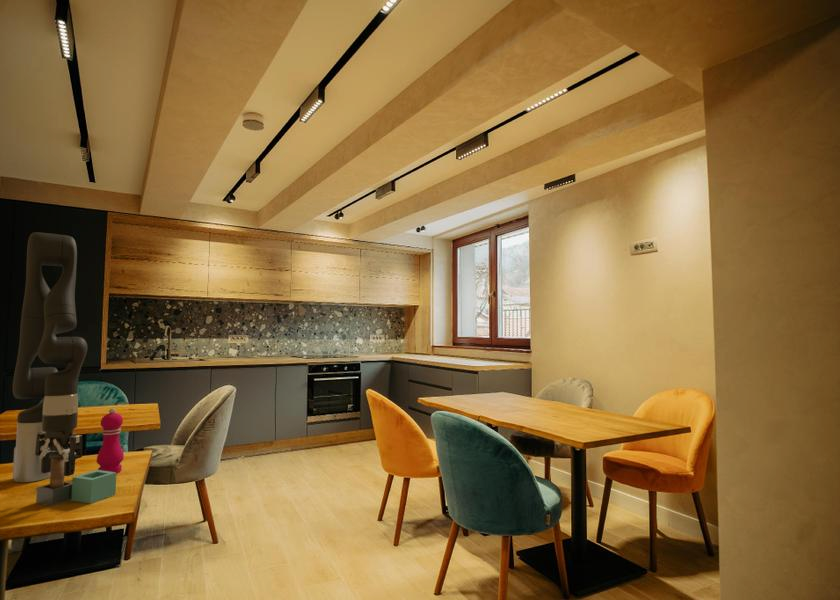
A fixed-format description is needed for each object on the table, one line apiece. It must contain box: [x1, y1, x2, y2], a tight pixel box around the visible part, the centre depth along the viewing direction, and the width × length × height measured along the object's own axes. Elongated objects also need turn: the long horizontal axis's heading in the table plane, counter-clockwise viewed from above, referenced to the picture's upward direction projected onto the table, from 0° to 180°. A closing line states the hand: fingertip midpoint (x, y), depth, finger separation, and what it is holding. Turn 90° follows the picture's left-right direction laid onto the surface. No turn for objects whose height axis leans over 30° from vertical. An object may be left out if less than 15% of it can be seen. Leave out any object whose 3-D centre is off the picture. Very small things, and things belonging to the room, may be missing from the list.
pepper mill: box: [96, 407, 125, 474], centre depth 152 cm, size 7×7×20 cm
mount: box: [35, 480, 72, 507], centre depth 126 cm, size 6×6×4 cm
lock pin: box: [49, 451, 66, 489], centre depth 127 cm, size 4×4×12 cm
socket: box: [70, 469, 117, 504], centre depth 129 cm, size 7×7×6 cm
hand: (57, 473), depth 126 cm, fingers open, 8 cm apart
